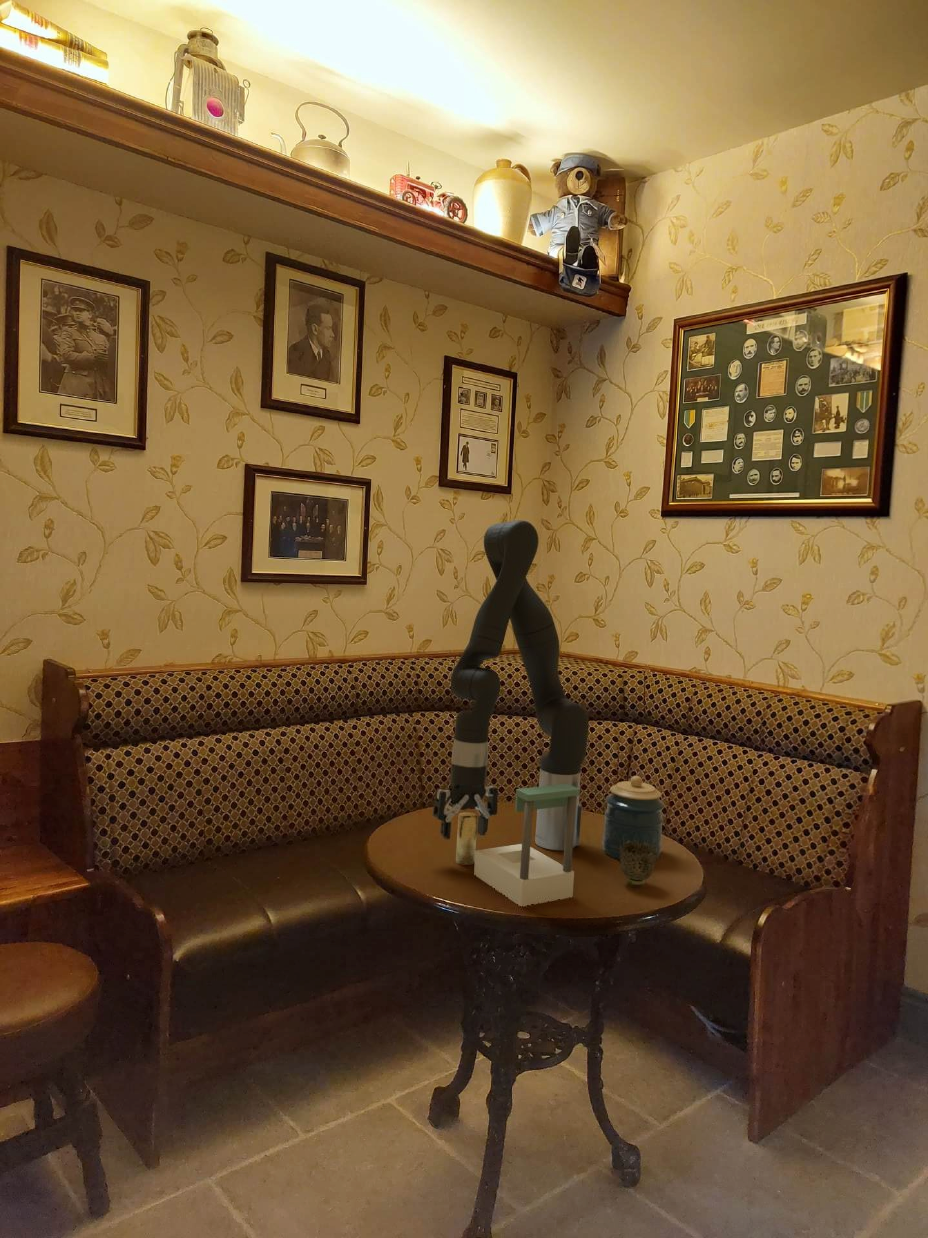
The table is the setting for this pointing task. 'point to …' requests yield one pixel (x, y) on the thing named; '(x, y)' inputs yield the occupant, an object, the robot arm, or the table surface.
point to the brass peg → (466, 838)
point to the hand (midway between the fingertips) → (463, 836)
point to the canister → (632, 816)
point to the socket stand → (532, 853)
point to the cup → (637, 862)
